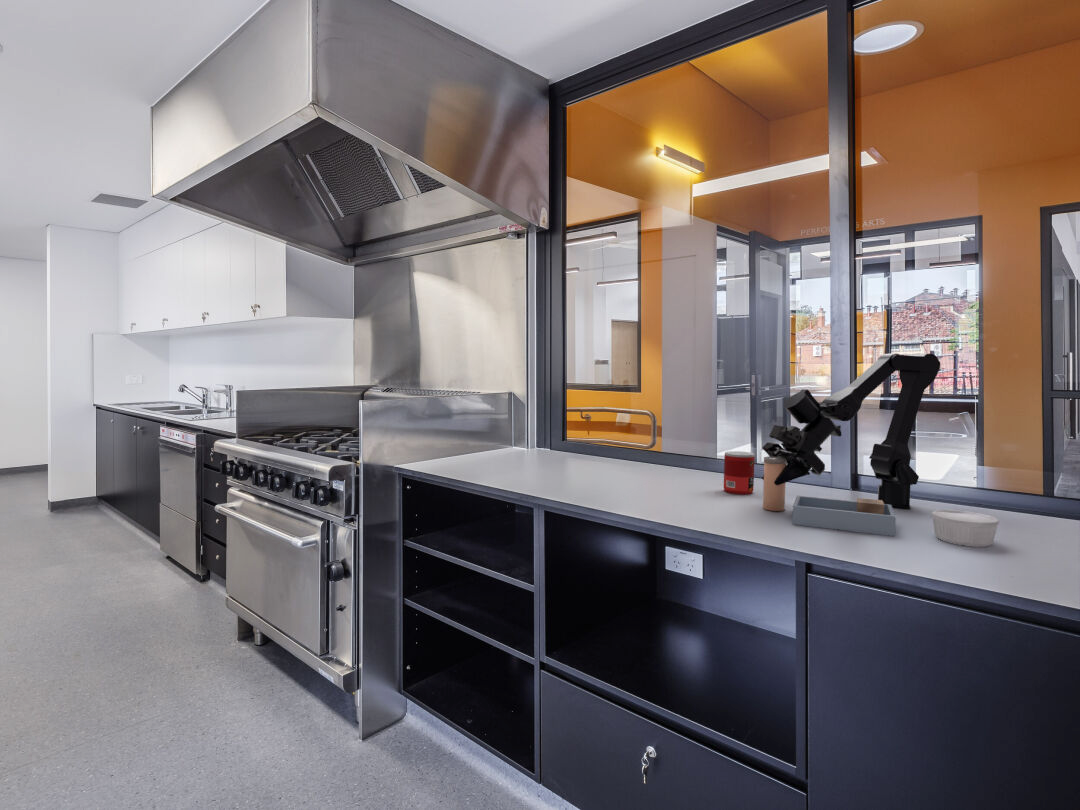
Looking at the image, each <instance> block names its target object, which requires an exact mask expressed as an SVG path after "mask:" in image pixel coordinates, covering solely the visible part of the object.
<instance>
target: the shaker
mask: <svg viewBox="0 0 1080 810" xmlns="http://www.w3.org/2000/svg"><path fill="white" fill-rule="evenodd" d="M763 463H764V464H763V465H764V466H763V475H764V480H763V486H762V487H763V489H762V490H763V492H762V497H763V498H762V509H763V510H766V511H771V512H772V511H774V512H781V511H783V512H784V511H785V509H786V507H785V506H786V505H785V504H786V483H787V482H786V483H783V484H780V485H778V486H777V485H775V484H774V481H775V480H776V478H777V477H778V476H779V474H780V473H781V472H782V470H783V469H784V468H785V466H786V465H787V464H786V463H787V458H783V457H769V456H764V457H763Z"/></svg>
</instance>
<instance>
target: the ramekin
mask: <svg viewBox="0 0 1080 810" xmlns="http://www.w3.org/2000/svg"><path fill="white" fill-rule="evenodd" d="M931 518H932V523H933V531H934V535H935V536H936V538H937V539H938V538H939V539H938V540H940V539H941V540H940V541H942V540H943V541H942V542H945V541H946V543H948V542H949V544H952V543H953V544H954V545H957V544H958V546H962V545H965V546H964V547H970V546H973V548H986V546H987V547H989V546H991V545H992V544H994V541H995V538H996V533H997V528H998V526H1000V520H999V519H998V518H997V517H994V516H992V515H988V514H984V513H977V512H972V511H966V510H965V511H964V510H957V509H955V510H954V509H937V510H936V509H935V510H933V511H932V512H931ZM953 544H952V545H953Z"/></svg>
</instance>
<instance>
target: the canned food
mask: <svg viewBox="0 0 1080 810" xmlns="http://www.w3.org/2000/svg"><path fill="white" fill-rule="evenodd" d="M723 457H724V459H723V460H724V462H723V490H724V492H726V493H727V492H728V494H732V493H733V494H735V495H751V494H753V492H754V484H755V483H754V482H755V481H754V479H755V453H754V452H750V451H741V450H740V451H739V450H738V451H737V450H735V451H734V450H732V451H725V452H724V456H723Z"/></svg>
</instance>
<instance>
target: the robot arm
mask: <svg viewBox="0 0 1080 810" xmlns="http://www.w3.org/2000/svg"><path fill="white" fill-rule="evenodd" d="M941 365H942V364H941V361H939V358H938V356H937V355H935V354H934V353H910V354H899V353H883V354H882V355H880V356H879V357H878V358H877V360H875V362H874V363H873V364H871V365H870V366H869V367H867V369H866V370H865V371H864V372H863V373H861V374H860V375H859V376H858V377H857V378H856V379H855V380H854V381H853V382H852V383H850V384H849V385H848V386H846V387H844V388H843V389H841V390H839V391H835V392H834V393H832V394H830V395H829V396H827V397H825V398H824V399H823V401H821V402H818V400H817V399H816V398H815V397H814V396H813V395H812V393H811V392H810V390H809V389H801V390H800V391H798V392H797V393H794V394H793V395H791V396H789V397H787V398H786V400H785V401H784V403H783V407H784V408H785V409H786V411H787V412H788V413H789V414H790V415H791V416H792V417H793V418H794V420H795V421H796V422H797V423H798V424H806V425H805V426H804V427H803V428H802V429H801V428H800V427H797V426H794V425H790V426H789V427H786V426H783V425H777V424H774V425H773V427H772V429H771V431H770V434H769V436H768V437H769V438H771V439H775V440H777V441H779V442H781V443H780V444H779V443H777V442H772V441H770V442H768V441H767V442H766V443H765V444H764V445H763V446H762V450H763V451H764V452H765V453H766V454H767V455H768V457H783V458H787V463H786V466H785V468H784V469H783V470H782V472H781V473H780V474H779V476H778V477H777V478H776V480H775V481H774V484H775V485H777V486H778V485H780V484H783V483H788V482H790V481H794V480H796V479H799V478H802V477H805V476H810V475H811V474H813V475H817V476H821V475H822V473H824V471H825V470H826V465H825V462H823V460H822V459H821V458H820V457H819V456H818V455H817V453H815V452H821V451H822V450H823V448H822V447H821V446H822V445H823V443H824V442H825V441H826V440H828V438H829V437H830V436H834V437H840V438H841V437H842V430H841V427H842V425H840V424H839V425H838V424H835V423H834V422H833V421H840V422H850V421H851V420H853V418H854V417H855V416H856V414H857V413H858V412H859V411H860V409H862V403H863V401H864V400H865V399H866V398H867V397H868V396H869V395H870V394H872V393H873V392H874V391H875V390H876V389H877V388H878V387H879V386H881V384H883V382H885V381H886V380H888V378H889V377H890V376H891V375H893V374H894V373H895V372H898V376H899V380H900V383H901V388H900V391H899V395H898V398H897V401H896V404H895V408H894V411H893V415H892V418H891V420H890V424H889V427H888V431H887V433H886V435H885V436H886V437H885V439H884V440H883V441H882V442H881V443H874V444H873V446H872V452H871V454H870V456H869V457H868V458H869V459H870V463H869V464H870V467H871V468H872V471H873V473H874V476H875V479H877V480H880V484H879V485H878V486H877V487H878V489H877V500H883V503H884V504H889V505H892V508H898V509H900V508H901V509H908V510H910V509H911V508H912V507H911V503H910V502H911V487H912V485H917V483H918V481H919V479H920V477H919V475H918V473H917V472H916V471H915V470H914V469H913V468H912V467H911V466H910V464H911V459H912V458H911V456H912V455H911V452H910V448H909V441H910V438H911V435H912V431H913V429H914V425H915V421H916V419H917V415H918V411H919V409H920V406H921V402H922V399H923V397H924V396H923V395H924V393H925V391H926V389H927V388H929V387H930V385H931V384H932V383H934V382H935V380H936V378H937V376H938V374H939V372H940V369H941ZM810 470H811V473H810ZM761 479H762V481H764V474H763V475H762V477H761Z"/></svg>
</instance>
